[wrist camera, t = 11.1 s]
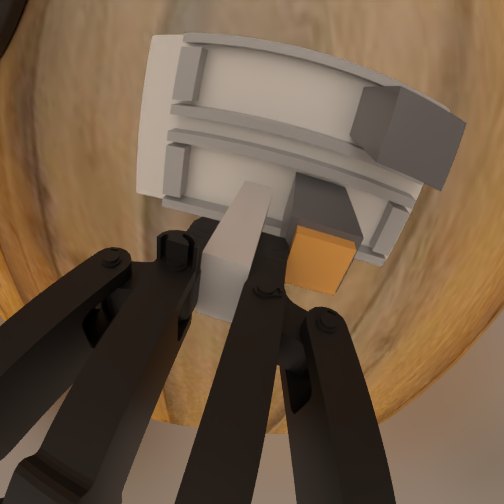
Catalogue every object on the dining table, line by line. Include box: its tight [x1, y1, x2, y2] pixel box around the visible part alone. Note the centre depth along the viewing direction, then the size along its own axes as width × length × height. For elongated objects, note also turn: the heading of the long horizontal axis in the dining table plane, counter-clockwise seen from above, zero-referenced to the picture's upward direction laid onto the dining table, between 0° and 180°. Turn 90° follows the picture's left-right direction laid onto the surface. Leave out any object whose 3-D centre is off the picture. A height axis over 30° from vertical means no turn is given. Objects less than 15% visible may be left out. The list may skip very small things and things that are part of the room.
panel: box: [136, 32, 466, 267], centre depth 13 cm, size 18×11×8 cm, turn 78°
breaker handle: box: [280, 172, 364, 295], centre depth 13 cm, size 3×3×6 cm
